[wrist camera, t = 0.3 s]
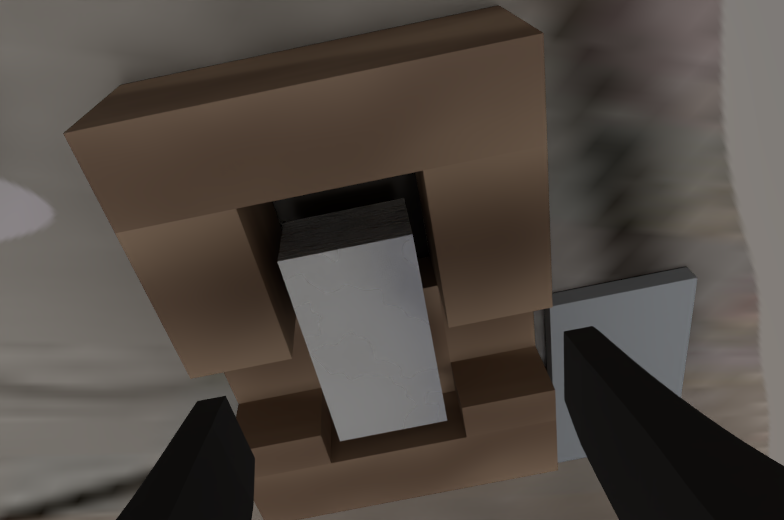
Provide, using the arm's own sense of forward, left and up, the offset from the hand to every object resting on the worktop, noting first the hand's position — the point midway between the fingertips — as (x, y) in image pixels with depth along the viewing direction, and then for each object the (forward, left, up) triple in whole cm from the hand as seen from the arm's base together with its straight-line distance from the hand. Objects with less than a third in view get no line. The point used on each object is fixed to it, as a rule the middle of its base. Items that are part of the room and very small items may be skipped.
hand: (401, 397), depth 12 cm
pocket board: (-3, +1, -10) cm, 10 cm away
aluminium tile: (-3, +1, -8) cm, 9 cm away
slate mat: (-11, -9, -10) cm, 17 cm away
